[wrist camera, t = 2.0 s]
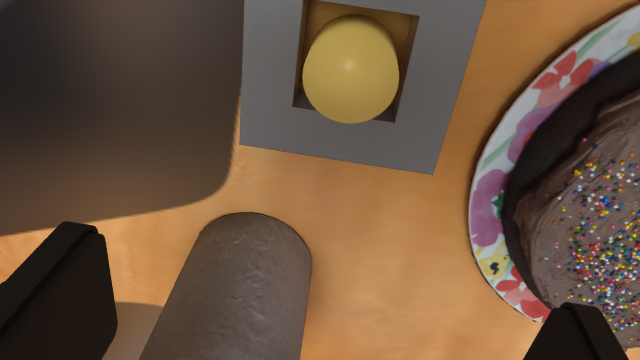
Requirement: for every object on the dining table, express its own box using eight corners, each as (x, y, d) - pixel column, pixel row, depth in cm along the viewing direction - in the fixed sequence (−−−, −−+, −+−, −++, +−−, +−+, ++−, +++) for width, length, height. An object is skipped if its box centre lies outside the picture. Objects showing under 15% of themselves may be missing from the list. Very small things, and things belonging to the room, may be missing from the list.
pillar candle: (190, 286, 39) (107, 473, 27) (201, 196, 34) (106, 375, 21) (300, 311, 40) (270, 506, 27) (327, 227, 35) (307, 420, 22)
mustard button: (404, 21, 24) (409, 38, 21) (386, 105, 27) (388, 130, 24) (315, 8, 24) (308, 22, 21) (305, 92, 27) (297, 115, 24)
